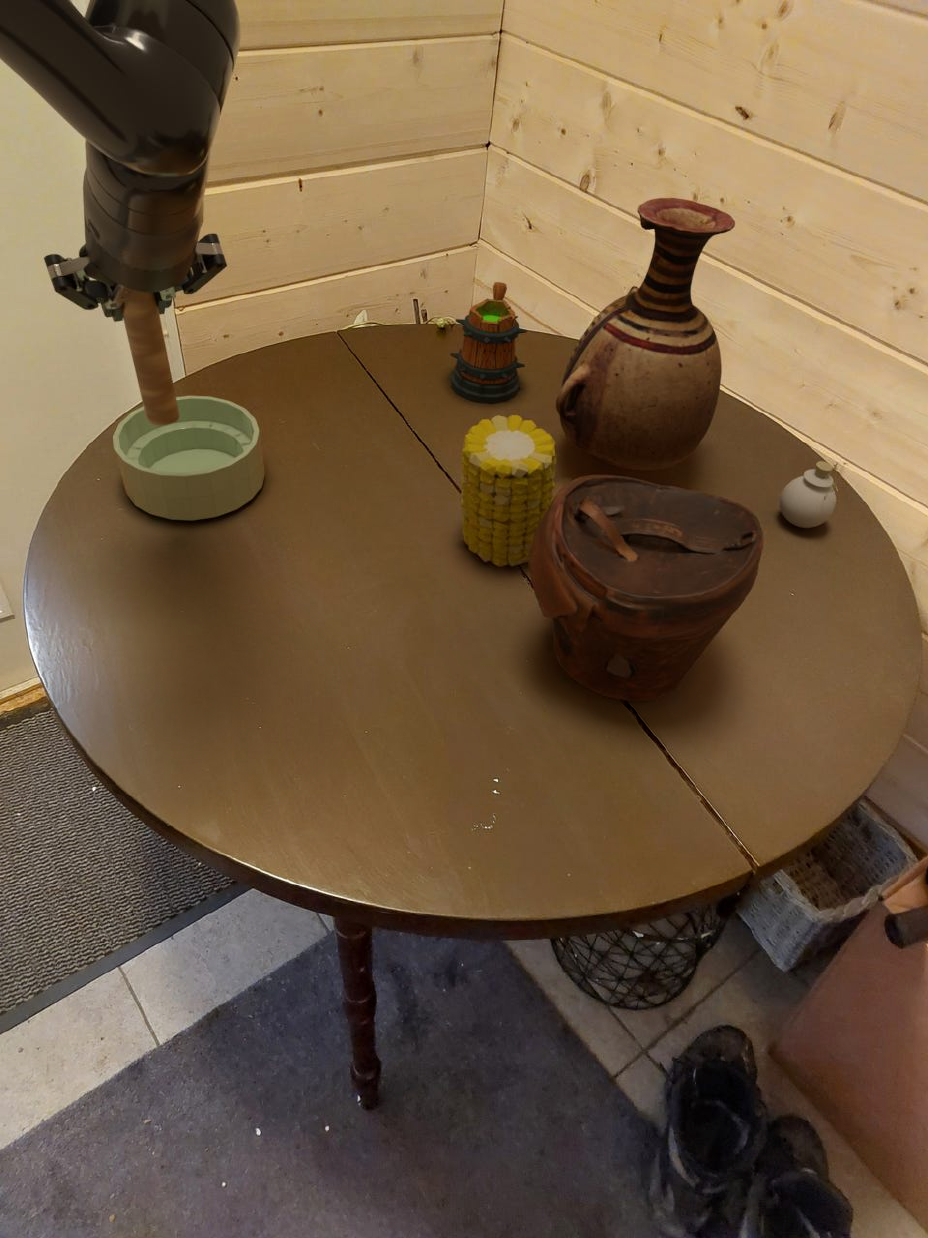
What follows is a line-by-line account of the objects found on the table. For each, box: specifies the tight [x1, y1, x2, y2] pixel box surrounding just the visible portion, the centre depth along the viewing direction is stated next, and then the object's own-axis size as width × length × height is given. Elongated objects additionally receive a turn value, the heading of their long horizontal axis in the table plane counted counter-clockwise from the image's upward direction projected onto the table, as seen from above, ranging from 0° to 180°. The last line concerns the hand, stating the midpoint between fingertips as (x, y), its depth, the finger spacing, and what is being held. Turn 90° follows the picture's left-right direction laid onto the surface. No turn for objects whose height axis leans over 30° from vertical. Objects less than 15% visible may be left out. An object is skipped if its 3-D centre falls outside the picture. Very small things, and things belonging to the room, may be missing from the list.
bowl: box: [112, 395, 266, 521], centre depth 92 cm, size 15×15×6 cm
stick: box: [122, 290, 179, 426], centre depth 74 cm, size 3×3×14 cm
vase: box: [555, 197, 736, 471], centre depth 93 cm, size 21×18×30 cm
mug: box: [449, 281, 528, 404], centre depth 111 cm, size 13×10×12 cm
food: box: [460, 414, 557, 568], centre depth 86 cm, size 15×12×10 cm
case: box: [528, 474, 764, 702], centre depth 75 cm, size 18×20×18 cm
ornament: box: [779, 460, 839, 529], centre depth 94 cm, size 6×7×10 cm
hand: (135, 306), depth 73 cm, fingers closed on stick, 3 cm apart
